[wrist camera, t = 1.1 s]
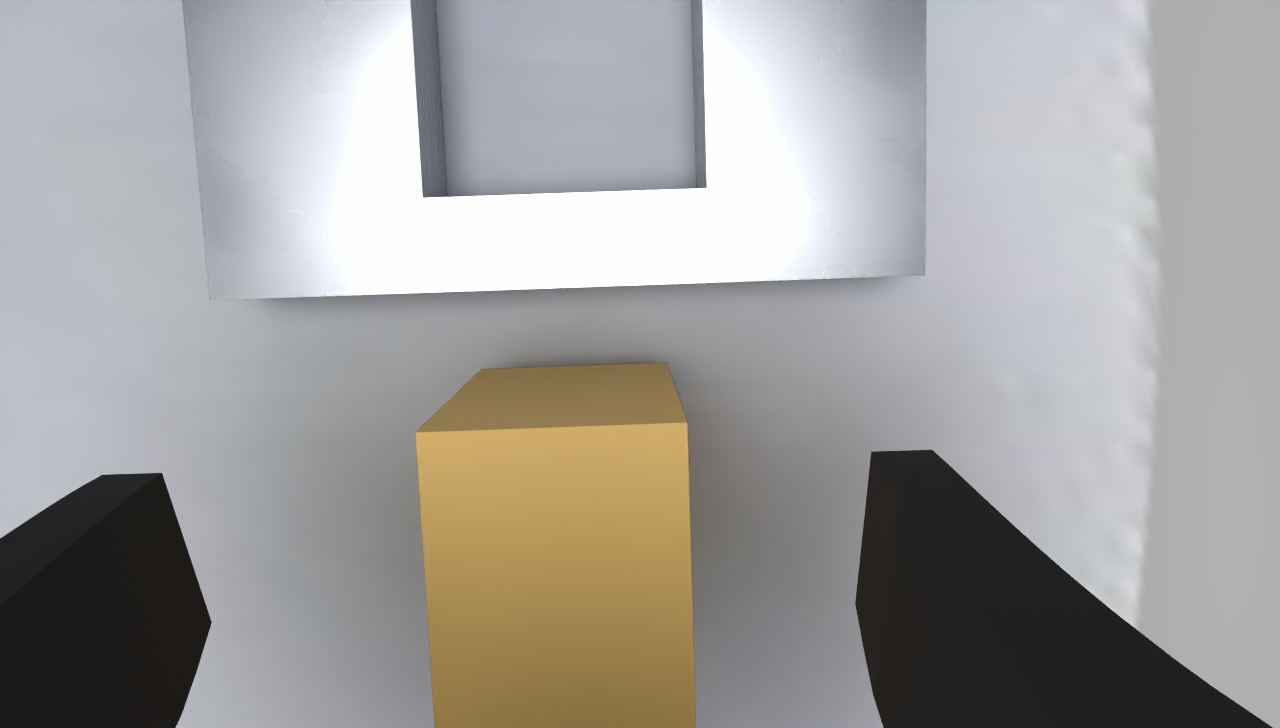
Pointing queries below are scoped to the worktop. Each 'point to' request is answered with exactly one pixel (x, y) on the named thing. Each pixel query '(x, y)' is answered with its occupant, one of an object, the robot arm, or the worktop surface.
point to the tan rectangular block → (559, 550)
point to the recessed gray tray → (556, 222)
